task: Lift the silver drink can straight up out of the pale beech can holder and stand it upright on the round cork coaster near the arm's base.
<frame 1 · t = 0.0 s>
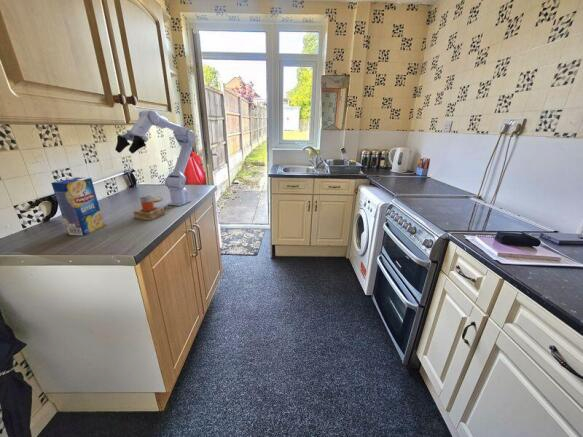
hand: (124, 151, 109), 32 cm above the countertop, tool tilted 50°, fingers open, 7 cm apart
coaster: (152, 200, 150), on the countertop
holder: (149, 216, 124), on the countertop
can: (147, 205, 122), in the holder
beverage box: (87, 230, 107), on the countertop
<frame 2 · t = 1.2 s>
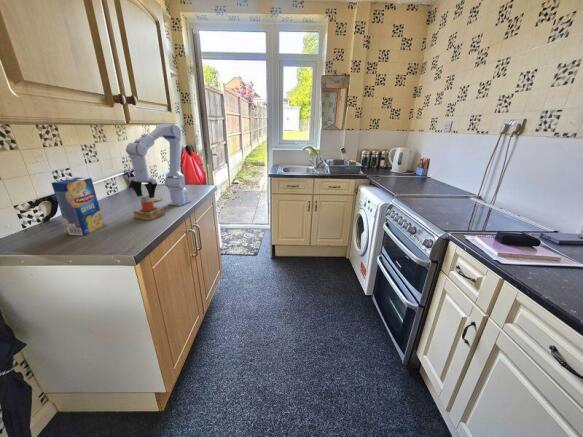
hand: (145, 196, 121), 10 cm above the countertop, tool pointing down, fingers open, 7 cm apart
nothing on the countertop moved.
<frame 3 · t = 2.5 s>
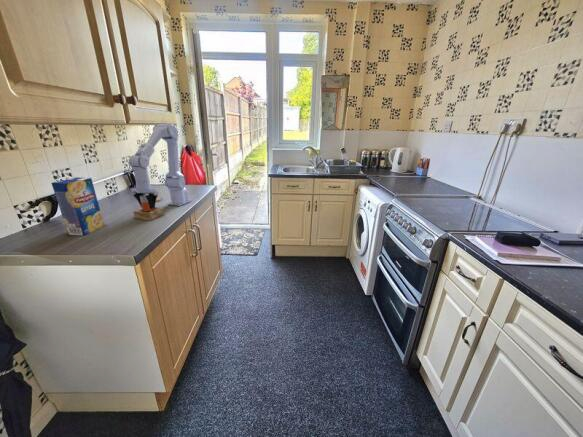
hand: (148, 207, 123), 5 cm above the countertop, tool pointing down, fingers closed on can, 5 cm apart
can: (147, 205, 122), in the holder, touching gripper
everything else where it was.
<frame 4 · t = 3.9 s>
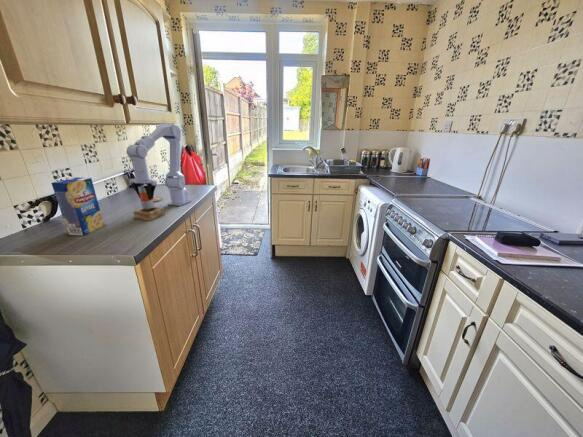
hand: (146, 198, 121), 9 cm above the countertop, tool pointing down, fingers closed on can, 5 cm apart
can: (146, 196, 121), point 10 cm above the countertop, touching gripper
everything else where it was.
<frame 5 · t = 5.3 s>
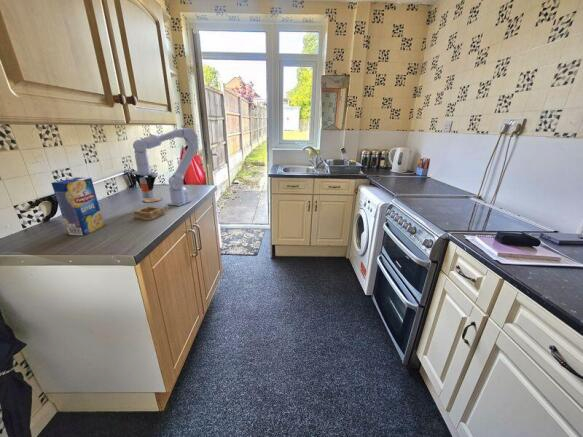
hand: (146, 189, 134), 10 cm above the countertop, tool pointing down, fingers closed on can, 5 cm apart
can: (146, 187, 134), point 11 cm above the countertop, touching gripper
everything else where it was.
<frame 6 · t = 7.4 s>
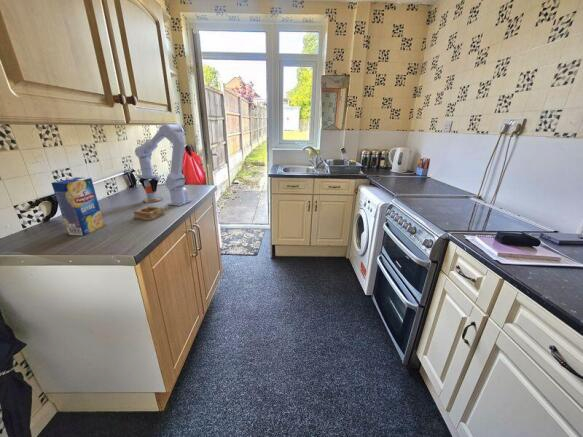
hand: (150, 191, 148), 6 cm above the countertop, tool pointing down, fingers closed on can, 5 cm apart
can: (150, 189, 147), point 7 cm above the countertop, touching gripper
everything else where it was.
when the fingers open (5 cm above the countertop, at t = 8.2 s): can moves 1 cm, resting on coaster.
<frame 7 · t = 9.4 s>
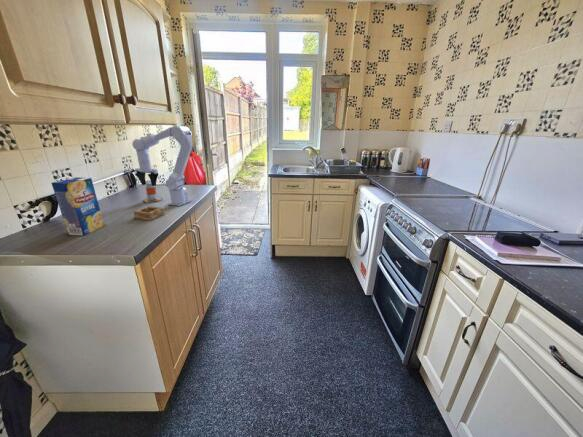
hand: (149, 185, 143), 10 cm above the countertop, tool pointing down, fingers open, 7 cm apart
can: (151, 190, 147), on the coaster, tilted 10°, touching gripper
everything else where it was.
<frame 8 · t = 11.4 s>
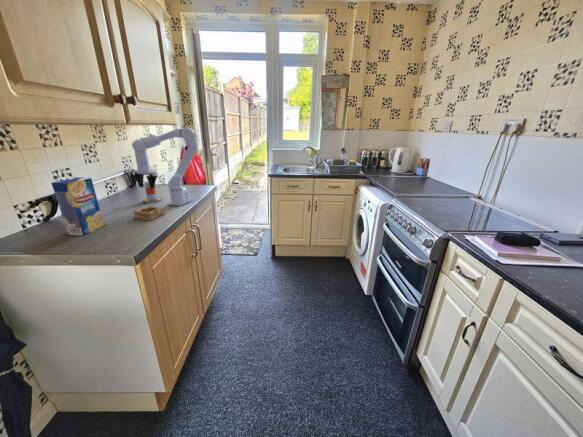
hand: (147, 187, 137), 10 cm above the countertop, tool pointing down, fingers open, 7 cm apart
can: (150, 190, 148), on the coaster
everything else where it was.
at the end: can 0.1 cm off-centre on the coaster, point 6.0 cm above the coaster's base; can tilted 0°; can moved 30.4 cm from its start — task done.
